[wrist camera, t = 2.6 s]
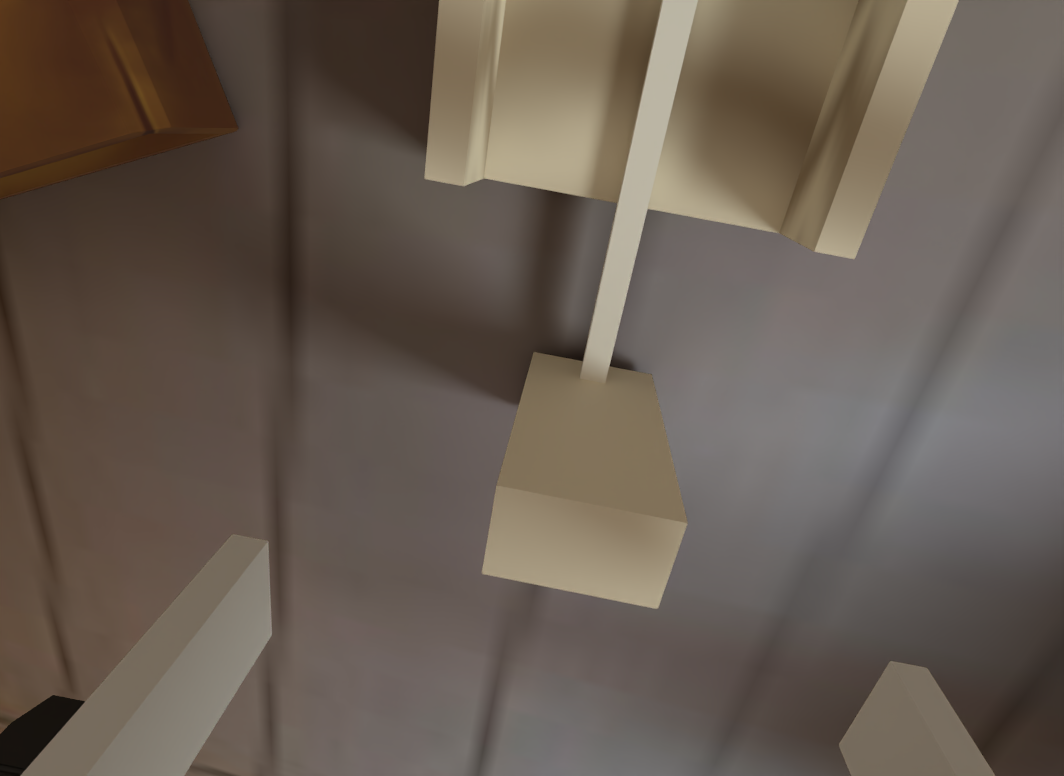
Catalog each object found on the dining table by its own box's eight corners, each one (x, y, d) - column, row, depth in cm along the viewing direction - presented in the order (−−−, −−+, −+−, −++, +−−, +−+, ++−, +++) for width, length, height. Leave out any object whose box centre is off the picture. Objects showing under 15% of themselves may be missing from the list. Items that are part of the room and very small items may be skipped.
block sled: (668, 443, 25) (711, 620, 16) (489, 408, 25) (429, 562, 16) (983, -581, 13) (1814, -2109, 4) (646, -633, 14) (753, -2203, 4)
